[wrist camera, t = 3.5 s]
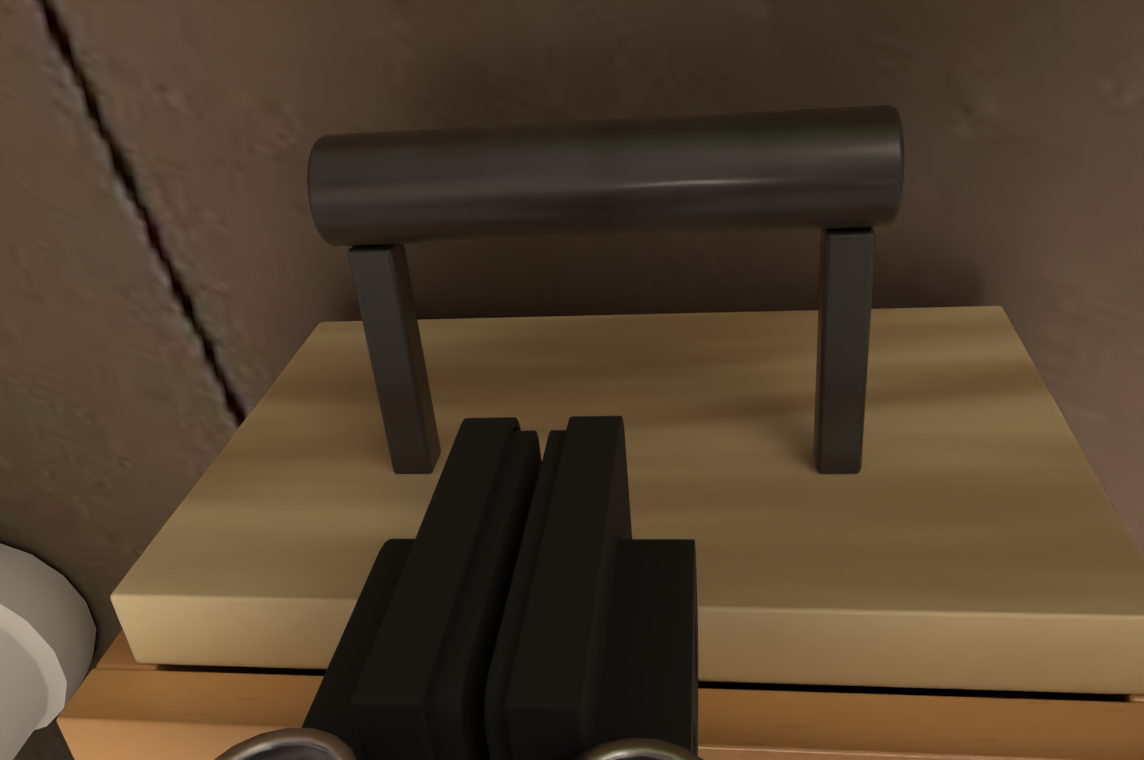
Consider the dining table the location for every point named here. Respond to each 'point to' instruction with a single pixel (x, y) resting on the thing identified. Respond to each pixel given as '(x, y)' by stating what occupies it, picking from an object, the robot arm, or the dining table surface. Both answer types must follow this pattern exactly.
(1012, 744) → the cabinet
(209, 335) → the dining table surface
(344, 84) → the dining table surface
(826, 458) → the drawer
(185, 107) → the dining table surface
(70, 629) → the bottle
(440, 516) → the robot arm
